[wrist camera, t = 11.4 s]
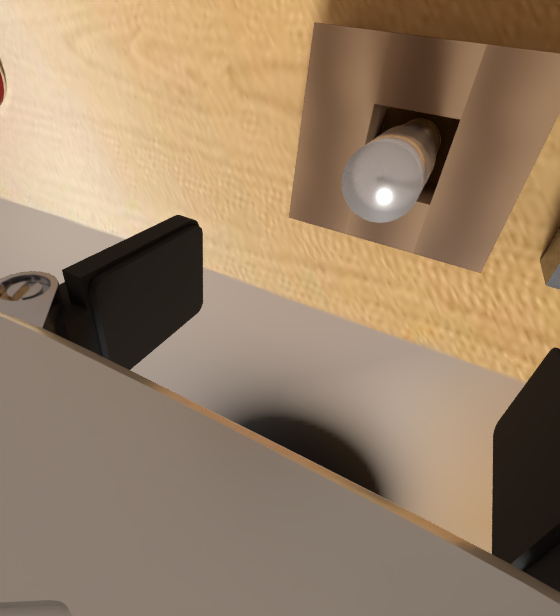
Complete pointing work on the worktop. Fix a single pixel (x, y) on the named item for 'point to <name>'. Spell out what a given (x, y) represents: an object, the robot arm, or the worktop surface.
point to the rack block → (432, 100)
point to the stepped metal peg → (391, 171)
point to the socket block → (552, 262)
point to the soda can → (2, 86)
